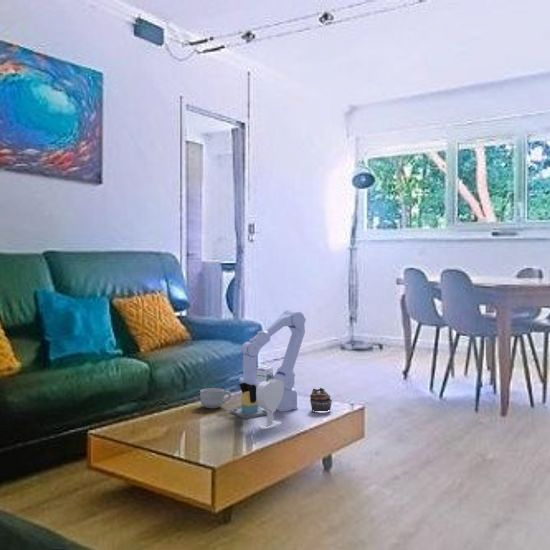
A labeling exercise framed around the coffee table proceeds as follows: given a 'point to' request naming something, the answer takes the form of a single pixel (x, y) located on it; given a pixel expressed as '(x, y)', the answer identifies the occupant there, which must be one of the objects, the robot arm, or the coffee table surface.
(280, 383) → the heart sculpture
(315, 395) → the cupcake
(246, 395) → the ochre brick
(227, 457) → the coffee table surface
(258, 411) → the base plate
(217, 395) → the teacup
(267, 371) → the syrup box
